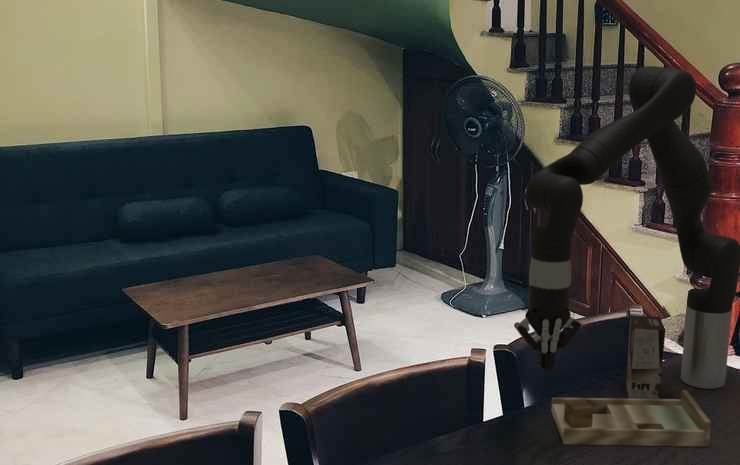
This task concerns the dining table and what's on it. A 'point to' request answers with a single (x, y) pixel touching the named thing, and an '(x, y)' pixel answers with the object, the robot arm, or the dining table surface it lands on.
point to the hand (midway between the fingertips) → (545, 369)
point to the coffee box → (645, 357)
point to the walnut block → (578, 413)
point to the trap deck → (637, 422)
